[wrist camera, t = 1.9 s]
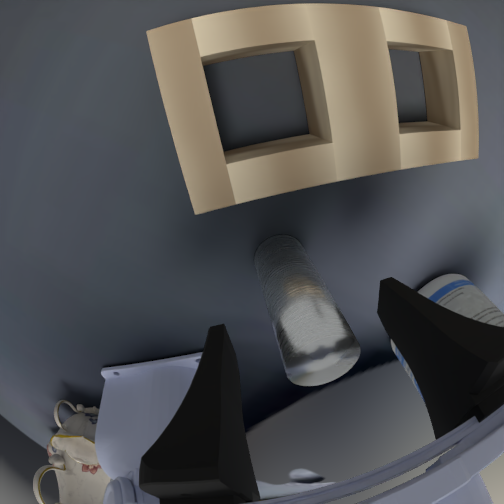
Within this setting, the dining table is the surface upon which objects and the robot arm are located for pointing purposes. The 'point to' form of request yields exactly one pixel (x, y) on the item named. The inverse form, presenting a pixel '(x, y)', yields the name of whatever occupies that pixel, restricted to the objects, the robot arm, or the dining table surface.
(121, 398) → the robot arm
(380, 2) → the dining table surface
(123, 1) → the dining table surface
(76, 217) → the dining table surface
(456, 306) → the supplement tub
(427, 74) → the hole block
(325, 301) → the peg
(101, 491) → the chinaware
